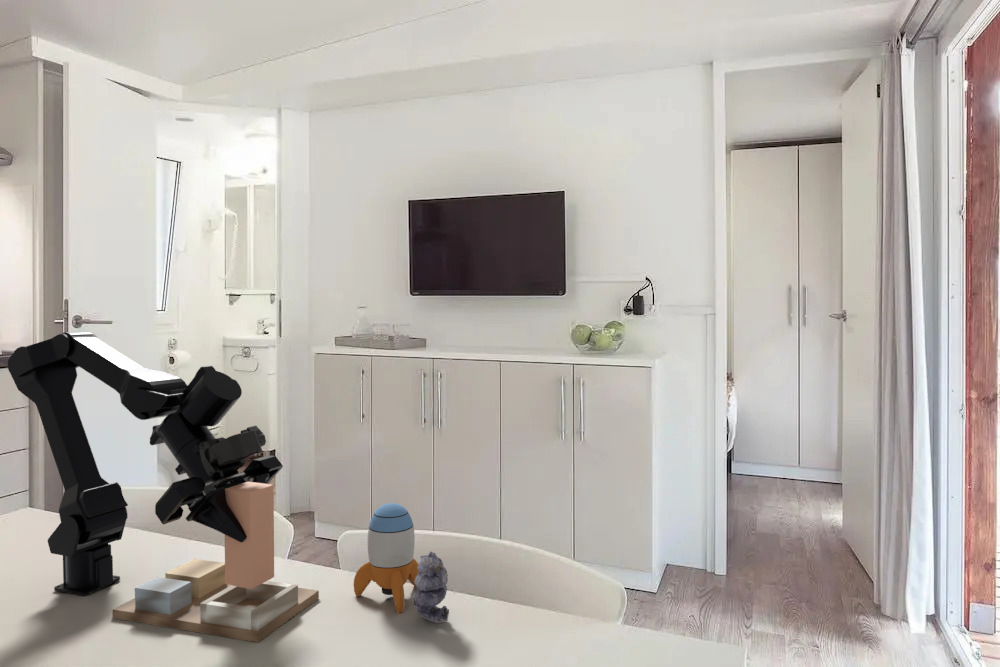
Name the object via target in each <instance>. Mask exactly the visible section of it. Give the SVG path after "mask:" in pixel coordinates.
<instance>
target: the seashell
mask: <svg viewBox="0 0 1000 667" xmlns="http://www.w3.org/2000/svg"><path fill="white" fill-rule="evenodd" d="M418 572H419V573H418V574H417V575H416V578H415V581H414V583H415V586H416V587H415V590H414V591H413V593H412V598H411V599H412V605H413V606H414V609H415V611H416V612H417V614H418V615H420V616H421V617H422V619H424V620H425V621H427V622H430V623H431V622H434V623H436V624H438V623H439V624H441V623H445V622H448V621H449V620H448V619H449V615H450V609H449V608H448V607H447V606H446V605H443V606H442V607H438V605H439V604H441V602H442V601H444V599H446V595H447V591H448V588H447V584H448V575H449V574H448V571H447V569H446V567H445V566H444V562H443V560H442V559H441V558H440V557H438V555H437V554H436V553H435V552H433V551H429V553H428V554H427V555H421V556H420V562H418Z"/></svg>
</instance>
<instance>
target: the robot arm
mask: <svg viewBox="0 0 1000 667" xmlns="http://www.w3.org/2000/svg"><path fill="white" fill-rule="evenodd" d="M77 368H81V369H83V371H85V372H87V373H88V374H90V375H91V376H93V377H94V378H96V379H98V380H99V381H101V382H102V383H104V384H105V385H107V386H109V387H110V388H111V389H113V390H114V391H116V392H117V393H118V394H119V399H120V403H121V404H122V405H123V407H124V408H125V409H127V411H129V412H130V414H132V415H133V416H134V417H135V418H137V419H139V420H142V421H144V420H145V421H146V420H152V419H157V418H163V417H164V419H163V420H162V421H161V423H160V424H158V425H157V424H156V425H153V426H152V432H151V435H150V438H149V445H150V446H157V445H160V444H165V446H166V447H167V449H168V450H169V451H170V453H171V454H172V456H173V457H174V458H175V461H177V463H178V465H177V466H176V468H175V469H174V470H175V472H176V473H177V475H178V476H180V475H184V474H186V475H187V477H188V478H185V479H181V480H177V481H174V482H172V483H171V484H170V486H169V487H168V488H167V489H166V491H165V492H164V493H163V495H162V496H161V497H160V498H159V499H158V500H157V501H156V503H155V507H154V512H155V515H156V517H157V518H158V520H159V521H160V523H161V524H162V525H166V524H169V523H173V522H176V521H178V520H180V519H181V518H182V516H183V513H184V509H183V506H187V507H188V508H187V509H188V510H189V511H190V512H189V513H188V515H187V516H186V517H185V520H186V521H187V522H194V523H198V524H200V525H202V526H205V527H208V528H210V529H213V530H215V531H217V532H219V533H221V534H223V535H224V536H225V535H227V536H229V537H231V538H233V539H235V540H237V541H239V542H243V541H244V540H245V539H246V538H247V536H246V534H245V532H244V530H243V528H242V526H241V525H240V523H239V521H238V520H237V518H236V517H235V515H234V514H233V512H232V511H231V509H230V508H229V506H228V505H227V502H226V494H225V489H226V488H230V487H233V486H236V485H239V484H242V483H245V482H256V483H264V484H269V483H270V482H271V481H272V480H273V479H274V477H276V476H277V475H278V473H279V472H280V471H281V470H282V468H283V467H284V466H283V464H282V462H281V461H280V460H279V459H278V458H277V456H276V455H265V456H261V457H258V458H255V459H252V460H251V461H250V463H249V464H248V465H247V466H246V468H245V469H244V470H243V471H242V472H239V469H242V468H243V467H244V465H245V464H246V463H247V461H246V460H245V459H247V458H249V457H251V456H252V455H254V454H257V455H258V454H260V453H261V452H263V448H262V447H264V446H265V445H266V443H267V440H266V435H265V434H264V432H262V430H261V429H260V428H259V427H258V426H257V425H252V426H248V427H247V428H246V429H242V430H240V433H236V434H233V435H231V436H228V437H226V438H225V437H223V436H221V437H217V438H216V437H215V436H214V434H213V433H212V432H211V430H210V428H208V427H214V426H216V425H218V424H219V423H220V422H221V421H222V420H223V418H224V417H225V416H226V415H227V414H228V412H229V411H230V410H231V409H232V408H233V406H234V405H235V404H236V403H237V401H238V400H239V399H240V398H241V397H242V387H241V385H240V384H239V382H238V381H237V380H236V379H233V378H232V377H231V376H229V375H228V374H226V373H223V372H222V371H221V372H220V371H218V370H216V368H215V367H214V366H213V365H206V366H205V365H204V366H201V367H200V368H198V370H197V371H196V373H195V375H194V377H193V379H191V381H190V382H189V383H188V384H187V383H186V382H185V381H184V380H183V379H182V378H181V377H179V376H177V375H175V374H171V373H169V372H165V371H162V370H157V369H155V370H154V369H150V368H146V367H145V366H144V367H143V366H142V365H140V364H138V363H137V362H135V361H134V360H132V359H130V358H129V357H127V356H126V355H124V354H123V353H121V352H120V351H117V350H116V349H115V348H113V347H111V346H109V345H108V344H107V343H106V342H103V341H101V340H100V339H99V338H98V336H96V335H95V333H92V332H89V331H66V332H61V333H59V334H56V335H55V336H53V337H52V338H49V339H46V340H41V341H40V342H36V343H33V344H30V345H27V346H26V345H25V346H19V347H17V348H16V349H15V350H14V351H13V353H12V354H11V355H9V357H8V359H7V370H8V372H9V374H10V376H11V378H12V380H13V382H14V384H15V387H16V388H17V390H18V391H19V392H20V393H21V394H23V395H24V396H25V397H27V398H28V399H29V400H31V401H32V402H33V403H34V404H35V406H36V409H37V411H38V414H39V418H40V421H41V424H42V426H43V429H44V432H45V435H46V438H47V441H48V444H49V448H50V450H51V452H52V456H53V458H54V461H55V465H56V468H57V472H58V474H59V477H60V480H61V483H62V486H63V489H64V492H63V494H62V498H61V501H60V504H59V508H58V514H59V520H60V523H59V524H58V526H57V527H56V528H55V529H54V530H53V532H52V533H51V534H50V536H49V537H48V538H47V544H48V549H49V551H50V553H51V554H52V555H53V554H54V555H58V556H59V555H60V556H62V571H63V572H62V575H63V576H62V577H63V581H62V582H63V583H60V584H58V585H56V586H54V587H53V590H54V591H56V592H62V593H67V594H73V595H80V596H87V595H90V594H92V593H94V592H96V591H98V590H101V589H102V588H105V587H107V586H109V585H112V584H114V583H115V582H118V581H120V580H121V576H119V575H115V574H114V566H113V565H114V564H113V563H114V562H113V561H114V560H113V558H114V557H113V555H112V545H111V544H110V543H112V542H116V541H120V540H122V537H123V534H124V530H125V526H126V522H127V520H128V510H127V507H128V503H127V501H126V500H125V497H124V495H123V491H122V486H121V484H119V482H117V481H115V482H112V483H109V482H108V481H106V480H105V479H104V478H103V477H102V476H101V474H100V471H99V468H98V465H97V463H96V460H95V457H94V453H93V452H92V448H91V444H90V442H89V440H88V437H87V434H86V430H85V427H84V425H83V421H82V419H81V416H80V413H79V411H78V408H77V404H76V401H75V398H74V395H73V390H74V386H75V384H76V381H77V377H78V372H77Z"/></svg>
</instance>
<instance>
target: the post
mask: <svg viewBox="0 0 1000 667" xmlns="http://www.w3.org/2000/svg"><path fill="white" fill-rule="evenodd" d="M274 490H275V488H274V484H271V483H270V484H269V483H268V484H264V483H256V482H245V483H242V484H239V485H236V486H233V487H230V488H226V489H225V494H226V502H227V505H228V506H229V508H230V509H231V511H232V512H233V514H234V515H235V517H236V518H237V520H238V521H239V523H240V525H241V526H242V528H243V530H244V532H245V534H246V536H247V538H246V539H245V540H244V541H243V542H239V541H237V540H235V539H233V538H231V537H229V536H227V535H225V534H224V563H225V584H228V585H233V586H237V587H242V588H247V589H253V588H254V587H256V586H258V585H260V584H262V583H264V582H266V581H270V580H271V579H273V578H275V516H274V514H275V513H274V512H275V511H274V510H275V507H274V506H275V505H274V502H275V501H274V499H275V496H274V493H275V492H274Z"/></svg>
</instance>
